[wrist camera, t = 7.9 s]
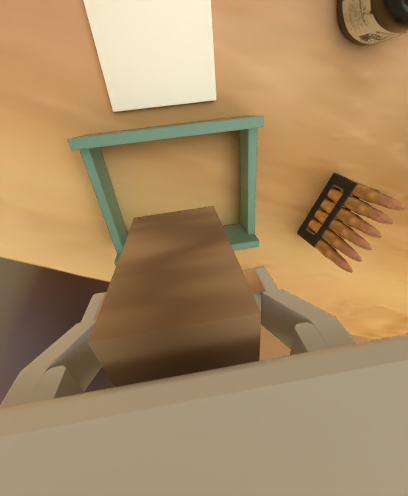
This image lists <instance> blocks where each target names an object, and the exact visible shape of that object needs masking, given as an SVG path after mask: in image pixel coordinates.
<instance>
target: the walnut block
mask: <svg viewBox="0 0 408 496" xmlns="http://www.w3.org/2000/svg"><path fill="white" fill-rule="evenodd" d="M260 324H261V312H260V310H259V307H258V305H257V303H256V301H255V298H254V296H253V294H252V292H251V289H250V287H249V285H248V283H247V280H246V278H245V276H244V274H243V271H242V269H241V267H240V265H239V262H238V260H237V258H236V256H235V253H234V251H233V249H232V247H231V244H230V242H229V240H228V238H227V236H226V233H225V231H224V229H223V227H222V224H221V222H220V220H219V218H218V215H217V213H216V211H215V209H214V206H211V207H204V208H197V209H190V210H184V211H177V212H170V213H164V214H157V215H150V216H143V217H137V218H134V220H133V223H132V226H131V228H130V231H129V234H128V236H127V239H126V242H125V244H124V247H123V250H122V253H121V255H120V258H119V261H118V263H117V266H116V269H115V271H114V274H113V277H112V280H111V282H110V285H109V288H108V291H107V293H106V296H105V298H104V301H103V304H102V306H101V309H100V312H99V315H98V317H97V320H96V323H95V325H94V328H93V331H92V333H91V336H90V339H89V342H88V344H89V346H90V347H91V349H92V350H93V352H94V354H95V355H96V357H97V358H98V360H99V362H100V363H101V365H102V367H103V368H104V370H105V371H106V373H107V374H108V376H109V378H110V379H111V381H112V383H113V384H114V386H115V387H119V386H125V385H130V384H136V383H141V382H147V381H152V380H158V379H163V378H169V377H174V376H180V375H185V374H190V373H196V372H201V371H207V370H212V369H218V368H223V367H229V366H234V365H239V364H245V363H250V362H256V361H259V351H260Z"/></svg>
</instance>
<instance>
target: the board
mask: <svg viewBox="0 0 408 496" xmlns="http://www.w3.org/2000/svg"><path fill="white" fill-rule="evenodd" d="M83 1H84V5H85V8H86V12H87V16H88V20H89V23H90V27H91V31H92V34H93V38H94V42H95V46H96V49H97V53H98V57H99V60H100V64H101V68H102V72H103V75H104V79H105V83H106V87H107V90H108V94H109V98H110V101H111V105H112V109H113V112H118V111H127V110H135V109H144V108H153V107H162V106H170V105H179V104H188V103H197V102H205V101H214V100H216V85H215V67H214V50H213V33H212V16H211V0H83Z"/></svg>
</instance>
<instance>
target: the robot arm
mask: <svg viewBox="0 0 408 496" xmlns="http://www.w3.org/2000/svg"><path fill="white" fill-rule="evenodd" d="M242 271H243V274H244V276H245V278H246V280H247V283H248V285H249V287H250V289H251V292H252V294H253V296H254V298H255V301H256V303H257V305H258V307H259V310H260V312H261V324H262V325H263V326H264V327H265V328H266V329H267V330H269V331H270V332H271V333H272V334H274V336H276V337H277V338H278V339H279V340H280V341H282V342H283V343H284V344H285V345H286V346H287V347H289V348H290V349H291V353H290V355H288V356H283V357H277V358H272V359H267V360H261V361H256V362H250V363H245V364H239V365H234V366H229V367H223V368H218V369H212V370H207V371H201V372H196V373H190V374H185V375H180V376H174V377H169V378H163V379H158V380H152V381H147V382H141V383H136V384H130V385H125V386H119V387H114V388H108V389H103V390H98V391H92V392H87V393H85V392H84V390H85V389H86V387H87V386H88V385H89V383H90V382H91V381H92V379H93V378H94V377H95V375H96V374H97V373H98V371H99V370H100V368H101V367H102V365H101V363H100V362H99V360H98V358H97V357H96V355H95V354H94V352H93V350H92V349H91V347H90V346H89V344H88V342H89V339H90V336H91V333H92V331H93V328H94V325H95V323H96V320H97V317H98V315H99V312H100V309H101V306H102V304H103V301H104V298H105V296H106V293H107V292H104V293H97V294H94V295H93V296H92V299H91V301H90V304H89V305H88V307H87V310H86V312H85V315H84V316H83V319H82V321H81V323H78V324H76V325H75V326H74V327H72V328H71V329H70V330H69V331H68V332H67V333H65V334H64V335H63V336H62V337H61V338H60V339H58V340H57V341H56V342H55V343H54V344H52V345H51V346H50V347H49V348H48V349H47V350H46V351H44V352H43V353H42V354H41V355H40V356H38V357H37V358H36V359H35V360H34V361H33V362H31V363H30V364H29V365H28V366H27V367H25V369H23V370H22V371H21V372H20V373H19V375H18V377H17V378H16V380H15V382H14V383H13V385H12V387H11V388H10V390H9V392H8V394H7V395H6V397H5V399H4V400H3V402H2V404H1V405H0V496H408V334H403V335H398V336H392V337H387V338H381V339H376V340H370V341H365V342H360V343H356V342H355V341H354V339H353V338H352V337H351V336H350V334H349V333H348V332H347V331H346V329H345V328H344V327H343V326H342V324H341V323H340V322H339V321H338V319H337V318H336V317H335V316H333V315H331V314H329V313H327V312H325V311H324V310H322V309H320V308H318V307H316V306H314V305H312V304H310V303H308V302H306V301H304V300H302V299H300V298H298V297H296V296H295V295H293V294H291V293H289V292H287V291H285V290H283V289H278V288H277V286H276V284H275V283H274V281H273V279H272V278H271V276H270V275H269V273H268V271H267V270H266V268H265V267H264V266H262V267H257V268H253V269H247V270H242Z"/></svg>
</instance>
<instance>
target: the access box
mask: <svg viewBox="0 0 408 496" xmlns="http://www.w3.org/2000/svg"><path fill="white" fill-rule="evenodd" d="M263 122H264V116H240V117H232V118H223V119H215V120H207V121H198V122H190V123H181V124H173V125H165V126H156V127H148V128H139V129H131V130H123V131H114V132H106V133H97V134H89V135H84V136H80V137H76V138H72V139H67V140H68V142H69V145H70V147H71V150H78V149H79V150H80V153H81V155H82V158H83V161H84V164H85V166H86V169H87V172H88V175H89V177H90V180H91V183H92V186H93V188H94V191H95V194H96V197H97V199H98V202H99V205H100V207H101V210H102V213H103V216H104V218H105V221H106V224H107V227H108V229H109V232H110V235H111V238H112V240H113V243H114V246H115V249H116V251H117V257H116V259H115V265H116V266H117V263H118V261H119V258H120V255H121V253H122V250H123V247H124V244H125V242H126V239H127V236H128V234H127V231H126V228H125V225H124V221H123V218H122V215H121V212H120V209H119V206H118V203H117V200H116V196H115V193H114V190H113V187H112V184H111V181H110V178H109V174H108V171H107V168H106V165H105V162H104V159H103V156H102V152H101V149H100V147H103V146H111V145H119V144H128V143H136V142H144V141H152V140H160V139H169V138H177V137H185V136H193V135H201V134H209V133H218V132H226V131H234V130H240V197H241V224H234V225H227V226H222V227H223V229H224V231H225V233H226V236H227V238H228V240H229V242H230V244H231V247H232V249H233V251H234V250H240V249H247V248H254V247H259V240H258V238H257V237H256V235H255V197H256V156H257V128H259V127H263Z"/></svg>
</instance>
